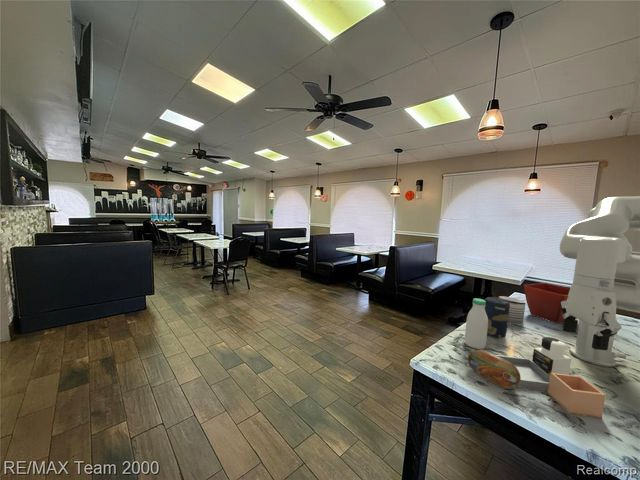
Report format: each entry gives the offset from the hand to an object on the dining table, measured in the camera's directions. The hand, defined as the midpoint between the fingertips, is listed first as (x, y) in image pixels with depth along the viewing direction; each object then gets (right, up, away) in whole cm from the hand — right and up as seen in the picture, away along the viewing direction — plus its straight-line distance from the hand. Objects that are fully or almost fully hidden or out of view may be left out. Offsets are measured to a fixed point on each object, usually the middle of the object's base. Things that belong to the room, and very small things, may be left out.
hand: (583, 340), depth 70 cm
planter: (-1, -20, +2) cm, 20 cm away
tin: (-17, -19, +13) cm, 29 cm away
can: (+27, -15, +62) cm, 69 cm away
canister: (+6, -16, +45) cm, 48 cm away
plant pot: (+53, -15, +67) cm, 87 cm away
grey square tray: (-5, -19, +16) cm, 25 cm away
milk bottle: (-9, -17, +35) cm, 40 cm away
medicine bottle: (+7, -19, +18) cm, 27 cm away
